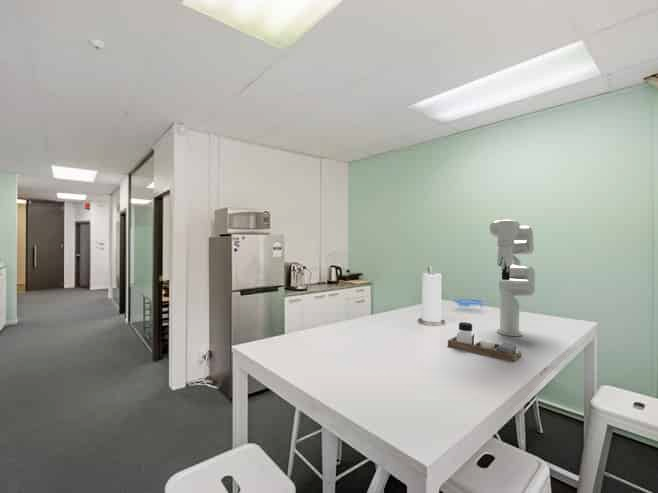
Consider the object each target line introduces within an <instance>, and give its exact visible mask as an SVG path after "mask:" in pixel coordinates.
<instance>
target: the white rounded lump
mask: <svg viewBox="0 0 658 493" xmlns="http://www.w3.org/2000/svg"><path fill="white" fill-rule="evenodd" d="M479 341H480V347H483V348H488V349H492V350H494V348H495V344H496V342H495V341H493V340H490V339H480V340H479Z"/></svg>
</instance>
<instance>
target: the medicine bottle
mask: <svg viewBox="0 0 658 493" xmlns="http://www.w3.org/2000/svg"><path fill="white" fill-rule="evenodd" d="M456 336H457V342H461V343H465V344H470V345H474V344H475V332H474V331H473V323H470V322H467V321H461V322H459V323H458V331H457V332H456Z"/></svg>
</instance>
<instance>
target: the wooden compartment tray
mask: <svg viewBox="0 0 658 493" xmlns="http://www.w3.org/2000/svg"><path fill="white" fill-rule="evenodd" d="M499 345H500V344H499V343H495V348H494V350H492V349H488V348H483V347H480V340H479V341H478V342H475V343H474V345H470V344H465V343H461V342H457V335H456V336H454V337H452V338H449V339H448V340H447V347H451V348H455V349H458V350H463V351H468V352H471V353H474V354H475V353H476V354H479V355H484V356H488V357H492V358H495V359H501V360H504V361H509V362H513V363H514V362H515V361H517V360H518V359H519V358H520V357H522V350H519V351H516V354H515V355H514V354H510V353H505V352H501V351H498V346H499Z"/></svg>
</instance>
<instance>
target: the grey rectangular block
mask: <svg viewBox="0 0 658 493" xmlns="http://www.w3.org/2000/svg"><path fill="white" fill-rule="evenodd" d="M498 351H501V352H505V353H510V354H514V355H515V354H516V353H517V344H516V343H512V342H508V341H507V342H506V341H503V342H502V343H500V344H499V346H498Z"/></svg>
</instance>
